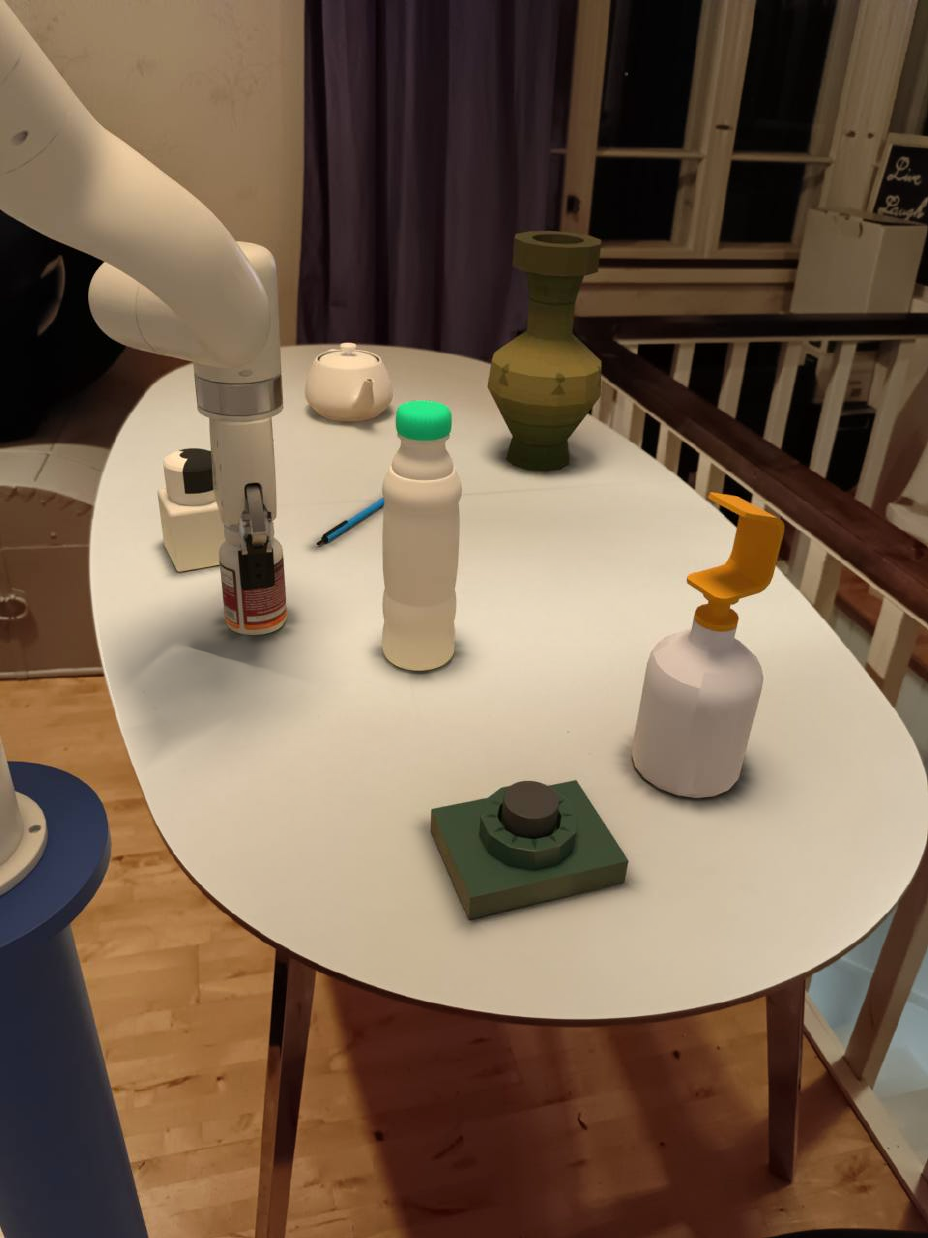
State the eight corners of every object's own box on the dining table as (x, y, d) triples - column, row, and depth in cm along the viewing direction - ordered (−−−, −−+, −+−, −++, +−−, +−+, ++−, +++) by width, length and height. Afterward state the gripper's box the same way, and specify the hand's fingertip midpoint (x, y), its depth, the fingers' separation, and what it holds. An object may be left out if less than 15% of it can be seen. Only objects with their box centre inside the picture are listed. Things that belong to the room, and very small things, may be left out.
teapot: (290, 395, 156) (287, 328, 151) (370, 388, 161) (370, 323, 156) (328, 442, 139) (326, 369, 134) (415, 433, 144) (417, 362, 139)
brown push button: (513, 845, 67) (515, 823, 66) (493, 807, 70) (495, 786, 69) (565, 833, 68) (568, 812, 67) (543, 796, 71) (546, 776, 70)
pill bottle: (296, 611, 99) (291, 514, 93) (273, 641, 94) (267, 541, 88) (240, 602, 100) (232, 505, 94) (214, 632, 95) (204, 532, 89)
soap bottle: (609, 749, 82) (652, 485, 69) (689, 720, 86) (743, 465, 73) (679, 814, 76) (740, 536, 63) (761, 779, 80) (835, 511, 67)
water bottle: (436, 628, 97) (444, 389, 84) (466, 664, 92) (480, 415, 79) (371, 642, 95) (369, 397, 82) (398, 680, 89) (400, 424, 76)
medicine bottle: (225, 535, 113) (216, 439, 107) (241, 562, 108) (233, 462, 101) (163, 545, 110) (150, 447, 104) (177, 573, 105) (164, 471, 98)
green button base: (468, 919, 66) (471, 878, 64) (430, 830, 73) (431, 790, 71) (624, 882, 69) (632, 842, 67) (573, 800, 76) (579, 762, 74)
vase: (575, 490, 129) (602, 256, 113) (465, 468, 134) (476, 241, 118) (606, 450, 142) (634, 236, 126) (504, 431, 147) (519, 223, 131)
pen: (314, 546, 112) (314, 537, 111) (400, 490, 126) (400, 483, 126) (321, 548, 111) (320, 539, 111) (405, 492, 126) (406, 484, 125)
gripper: (187, 365, 90) (204, 536, 100) (206, 428, 77) (224, 619, 86) (267, 362, 93) (276, 529, 102) (299, 422, 79) (307, 609, 88)
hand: (252, 569), depth 94 cm, fingers closed on pill bottle, 6 cm apart
